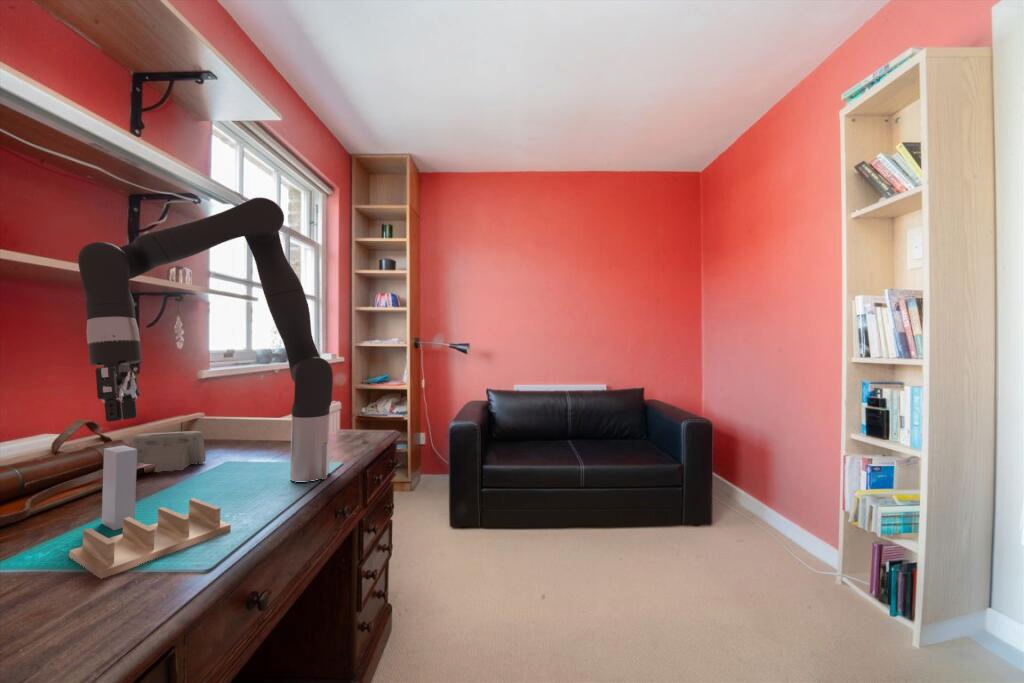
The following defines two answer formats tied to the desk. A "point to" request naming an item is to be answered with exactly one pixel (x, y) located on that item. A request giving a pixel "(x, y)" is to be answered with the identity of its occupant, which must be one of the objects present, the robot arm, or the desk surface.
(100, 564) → the rack
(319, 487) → the desk surface
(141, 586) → the desk surface
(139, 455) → the grey basket
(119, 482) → the grey tall block
